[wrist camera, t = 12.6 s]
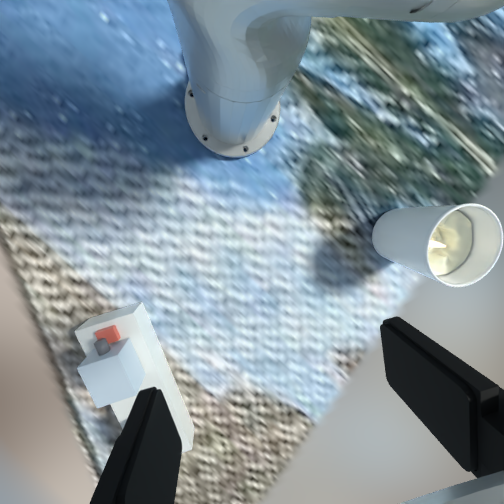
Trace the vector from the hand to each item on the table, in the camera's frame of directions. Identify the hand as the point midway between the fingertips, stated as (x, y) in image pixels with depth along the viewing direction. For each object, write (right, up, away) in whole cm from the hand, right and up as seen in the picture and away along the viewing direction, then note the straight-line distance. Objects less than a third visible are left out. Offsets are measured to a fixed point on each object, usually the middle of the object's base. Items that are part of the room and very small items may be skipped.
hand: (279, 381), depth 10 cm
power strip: (-18, -15, +30) cm, 38 cm away
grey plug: (-20, -9, +29) cm, 36 cm away
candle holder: (+22, +8, +31) cm, 39 cm away
